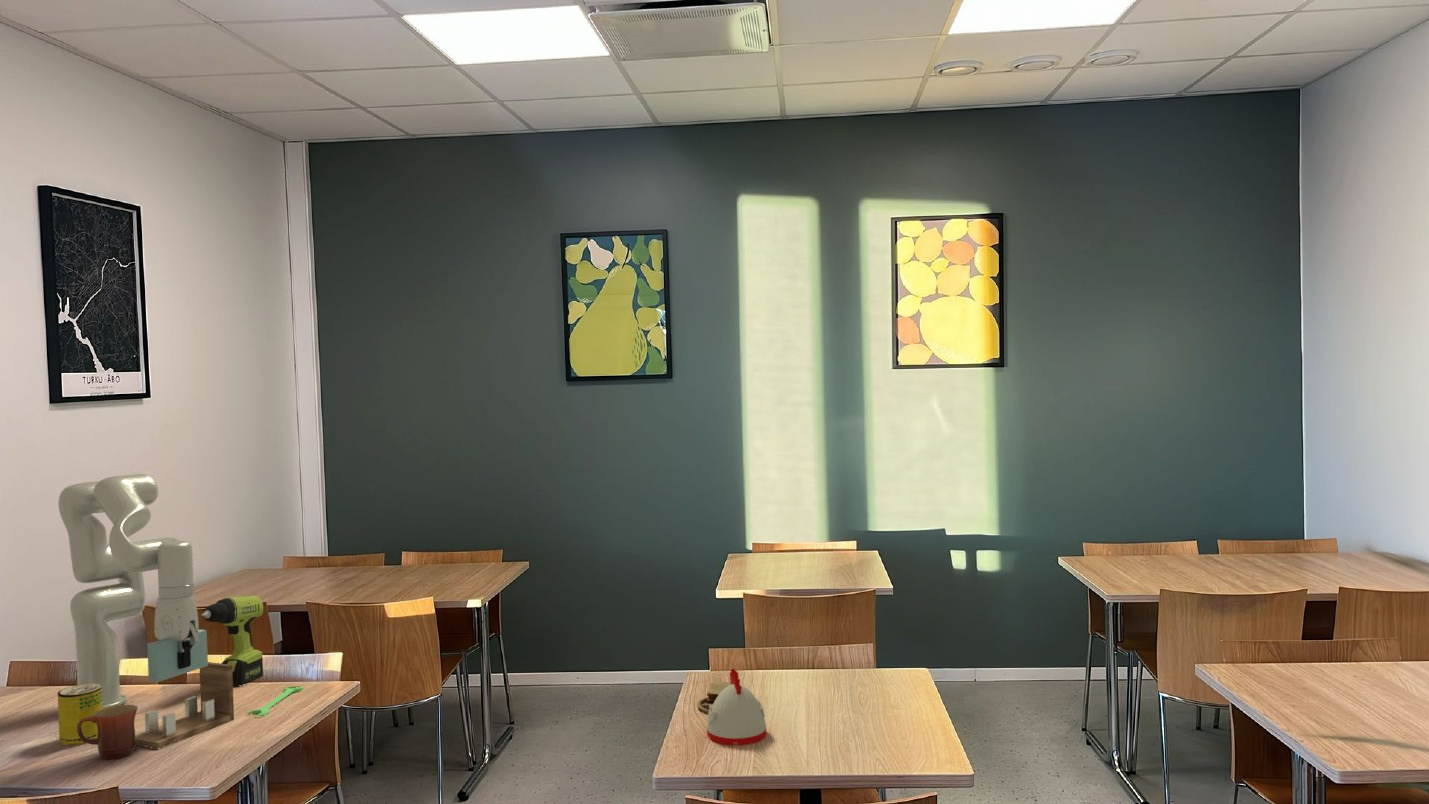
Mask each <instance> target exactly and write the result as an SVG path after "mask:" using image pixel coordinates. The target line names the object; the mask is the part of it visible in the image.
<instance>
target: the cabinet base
mask: <svg viewBox="0 0 1429 804" xmlns="http://www.w3.org/2000/svg"><path fill="white" fill-rule="evenodd" d="M199 687H200V688H199V689H200V690H199V693H200V711H198V696H195V695H193V696H190V697H188V698H185V699H184V703H185V705H184V709H185V710H184V711H185V716H184V717H182V718H178V719H176V712H169V713H167V714H164V715H162V721H161V722H162V725H160V726H159V710H155V709H154V710H151V711H148V712H145V713H144V722H145V723H144V724H145V727H144V728H145V731H144V732H142V733H139V734H135V740H136V742H135V746H136V745H138V747H142V746H147V747H146V748H148V747H152V748H151V749H154V748H161V747H163V746H166V747H168V746H167V745H169V744H171V743H174V744H176V743H178V742H177V741H179V740H181V741H183V740H182V739H184V740H186V739H188V738H187V737H189V738H191V737H194V736H196V735H198V733H199V734H201V732H202V733H204V732H206V730H207V731H209V730H211V729H210V728H212V729H214V728H216V726H217V727H219V726H221V725H224V724H226V723H225V722H227V723H229V722H231V721H230V720H232V719H234V720H235V713H234V712H235V711H234V710H235V709H234V708H235V707H234V704H235V703H234V686H233V673H232V665H229V664H221V663H219V662H211V661H210V662H209V661H208V666H206V667H203V668H199ZM228 721H229V722H228ZM232 721H233V720H232ZM223 723H224V724H223ZM218 725H219V726H218ZM203 731H204V732H203ZM195 734H196V735H195ZM193 735H194V736H193ZM185 738H186V739H185ZM175 742H176V743H175ZM179 742H180V741H179ZM171 745H172V744H171ZM169 746H170V745H169ZM161 749H162V748H161Z"/></svg>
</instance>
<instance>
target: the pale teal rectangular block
mask: <svg viewBox="0 0 1429 804" xmlns="http://www.w3.org/2000/svg"><path fill="white" fill-rule="evenodd" d="M207 632H208V631H207V630H206V629H199V628H198V637H199V642H197V643H195V644H194V645H193V647H192V650H190V653H191V665H190V666H189V667H186V668H182V669H178V655H177V653H179V644H178V641H173V640H168V639H162V640H159V639H157V640H155V641H152V642H149V643H147V645H146V646H147V667H148V668H147V669H148V670H147V671H148V682H154V683H159V682H162V681H165V680H168V679H169V680H170V679H171V678H175V677H177V676H180V675H183V674H186V673H190V672H193V671H197V670H200V668H203V667H206V666H208V662H209V661H208V658H209V657H208V636H207V635H208V633H207ZM185 643H186V641H184V644H185Z"/></svg>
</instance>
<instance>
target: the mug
mask: <svg viewBox="0 0 1429 804" xmlns="http://www.w3.org/2000/svg"><path fill="white" fill-rule="evenodd" d="M137 711H138V706H137V705H134V704H122V705H117V706H112V707H107V708H104V709H101V710H98V711H96V712H95V713H94V714H93V716H91V717H85V718H83V719H81V720H80V721H79V722H78V725H77V732H78V736H79V737H80V739H81V740H82V741H83V742H85V744H90V745H92V746H93V745H94V746H95V745H96V746H97V750H98V757H100V759H104V760H117V759H122V758H125V757H127V756H129V755H131V754H132V753H133V752H134V750H135V746H136V745H135V742H136V740H135V736H136V729H135V719H136V715H137ZM86 721H90V722H93V723H95V724H96V725H97V728H98V737H97V738H95V739H90V738H87V737H86V736H85V735H84V734H83V731H82V723H83V722H86ZM121 757H122V758H121Z"/></svg>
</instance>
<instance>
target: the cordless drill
mask: <svg viewBox="0 0 1429 804" xmlns="http://www.w3.org/2000/svg"><path fill="white" fill-rule="evenodd" d="M263 613H264V603H263V602H262V600H261V598H260V597H259V596H257V595H248V596H231V597H225V598H224V597H223V598H222V599H219V600H217V601H216V602H215V603H213V604H212V603H211V604H210V605H208V606H206V607H205V608H204V609H203V612H202V614H200V616H202V617H203V619H204V621H206V622H209V623H219V624H221V625H223V626H225V628H227V631H228V632H227V633H228V635H231V636H232V637H233V638H232V639H233V642H234V651H233V653H231V654H230V655H229V656H228V657H226V658H224V660H222V661H221V663H220V664H229V665H232V673H233V687H239V686H238V685H243V684H245V685H247V684H249V683H251V682H253V681H256V680H258V679H260V678H261V677H263V676H264V661H263V659H264V657H263V655H264V654H263V651H260V650H259V649H254V647H253V640H252V630H251V626H250V625H251V623H252V621H253V620H255V619H257V618H259V617H261V616H262V615H263ZM243 686H244V685H243Z"/></svg>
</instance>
